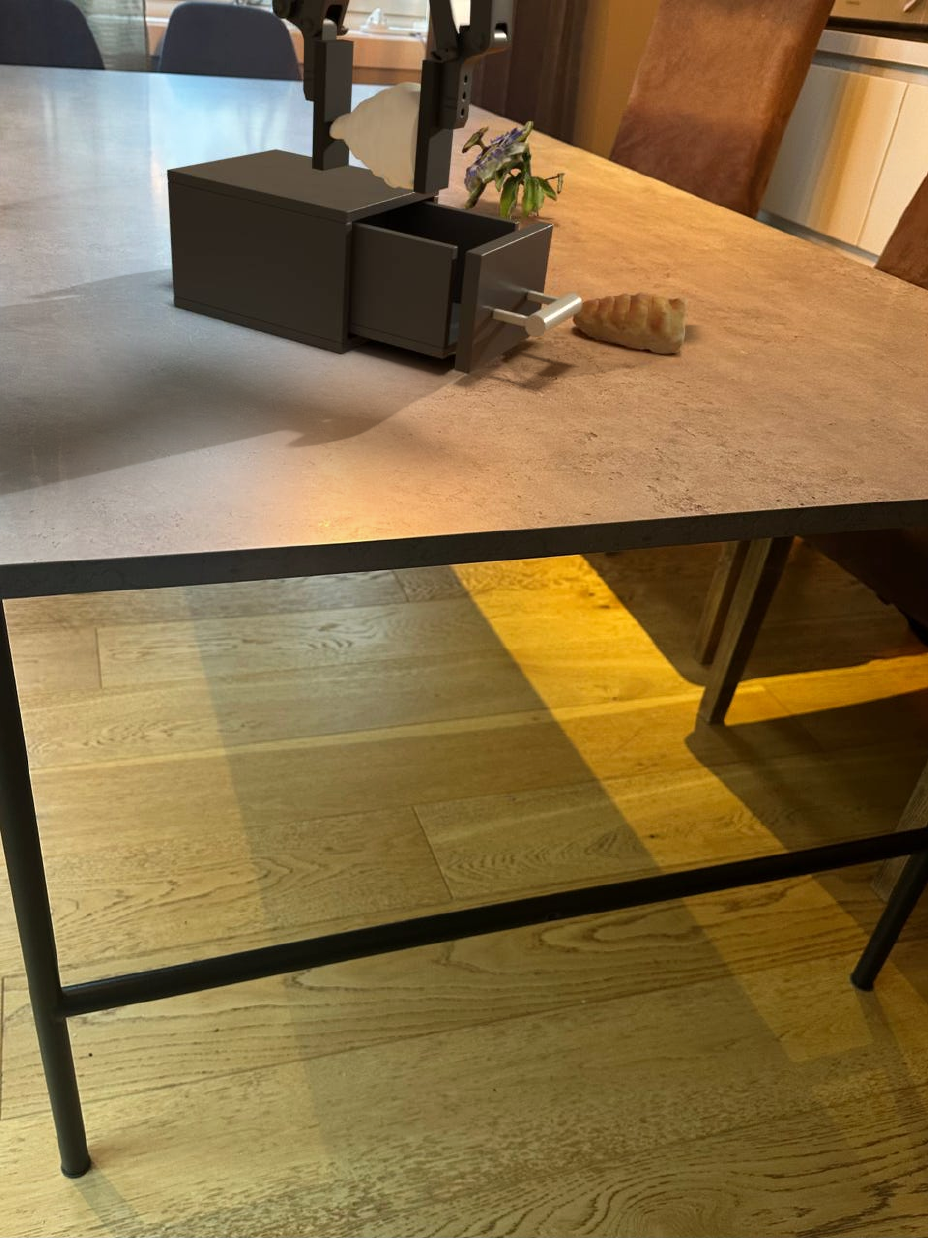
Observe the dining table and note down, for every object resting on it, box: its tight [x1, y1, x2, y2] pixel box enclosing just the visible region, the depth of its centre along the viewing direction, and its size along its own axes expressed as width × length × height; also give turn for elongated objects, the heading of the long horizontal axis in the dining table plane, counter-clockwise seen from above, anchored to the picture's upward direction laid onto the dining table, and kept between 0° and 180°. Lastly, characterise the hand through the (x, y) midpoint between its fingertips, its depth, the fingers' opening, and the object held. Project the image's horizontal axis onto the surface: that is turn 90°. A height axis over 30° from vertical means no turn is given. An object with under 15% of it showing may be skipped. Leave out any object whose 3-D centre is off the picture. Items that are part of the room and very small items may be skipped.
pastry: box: [572, 292, 688, 355], centre depth 86 cm, size 9×7×4 cm
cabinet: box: [166, 148, 440, 354], centre depth 82 cm, size 16×14×10 cm
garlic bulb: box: [329, 81, 421, 189], centre depth 59 cm, size 6×6×5 cm
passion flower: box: [461, 120, 566, 220], centre depth 119 cm, size 11×11×12 cm
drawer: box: [348, 200, 583, 375], centre depth 78 cm, size 19×12×8 cm, turn 63°
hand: (379, 177), depth 60 cm, fingers closed on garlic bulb, 6 cm apart
